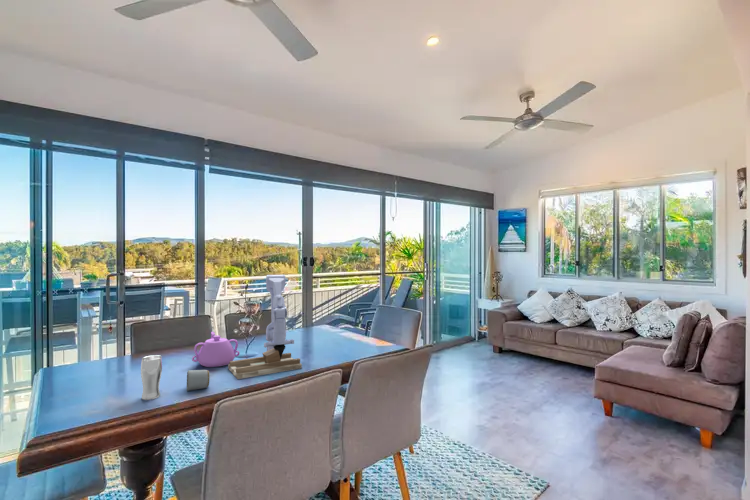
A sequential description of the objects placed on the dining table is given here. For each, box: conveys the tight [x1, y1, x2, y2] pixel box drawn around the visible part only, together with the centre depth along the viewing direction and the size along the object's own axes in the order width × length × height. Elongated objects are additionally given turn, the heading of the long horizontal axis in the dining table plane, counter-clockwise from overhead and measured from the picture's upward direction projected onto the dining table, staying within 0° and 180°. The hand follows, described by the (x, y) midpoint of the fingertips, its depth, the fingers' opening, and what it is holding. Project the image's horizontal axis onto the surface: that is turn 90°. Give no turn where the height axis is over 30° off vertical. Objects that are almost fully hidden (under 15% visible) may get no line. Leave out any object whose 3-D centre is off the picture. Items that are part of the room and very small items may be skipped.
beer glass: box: [140, 354, 163, 401], centre depth 144 cm, size 7×7×15 cm
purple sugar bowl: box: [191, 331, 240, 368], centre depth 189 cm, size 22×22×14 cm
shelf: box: [227, 352, 303, 380], centre depth 181 cm, size 17×30×4 cm, turn 124°
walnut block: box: [262, 348, 281, 363], centre depth 182 cm, size 6×6×5 cm
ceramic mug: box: [186, 369, 210, 391], centre depth 155 cm, size 11×8×8 cm
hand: (279, 360), depth 185 cm, fingers closed, pressing on walnut block
